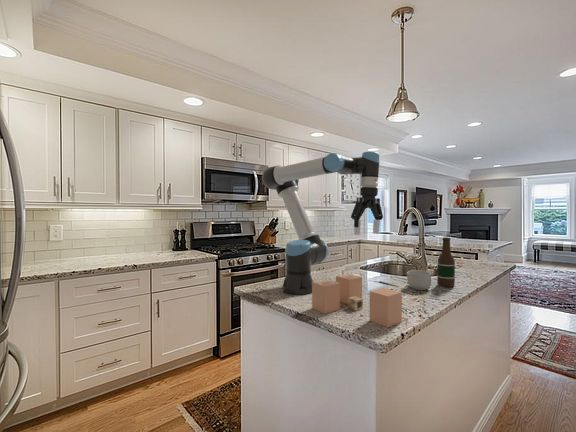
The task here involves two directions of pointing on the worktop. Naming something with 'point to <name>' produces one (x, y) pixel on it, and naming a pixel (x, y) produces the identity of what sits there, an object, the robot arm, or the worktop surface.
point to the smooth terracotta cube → (349, 286)
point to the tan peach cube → (385, 307)
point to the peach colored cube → (326, 296)
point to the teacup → (419, 279)
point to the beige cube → (355, 303)
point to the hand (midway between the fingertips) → (366, 234)
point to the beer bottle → (446, 266)
